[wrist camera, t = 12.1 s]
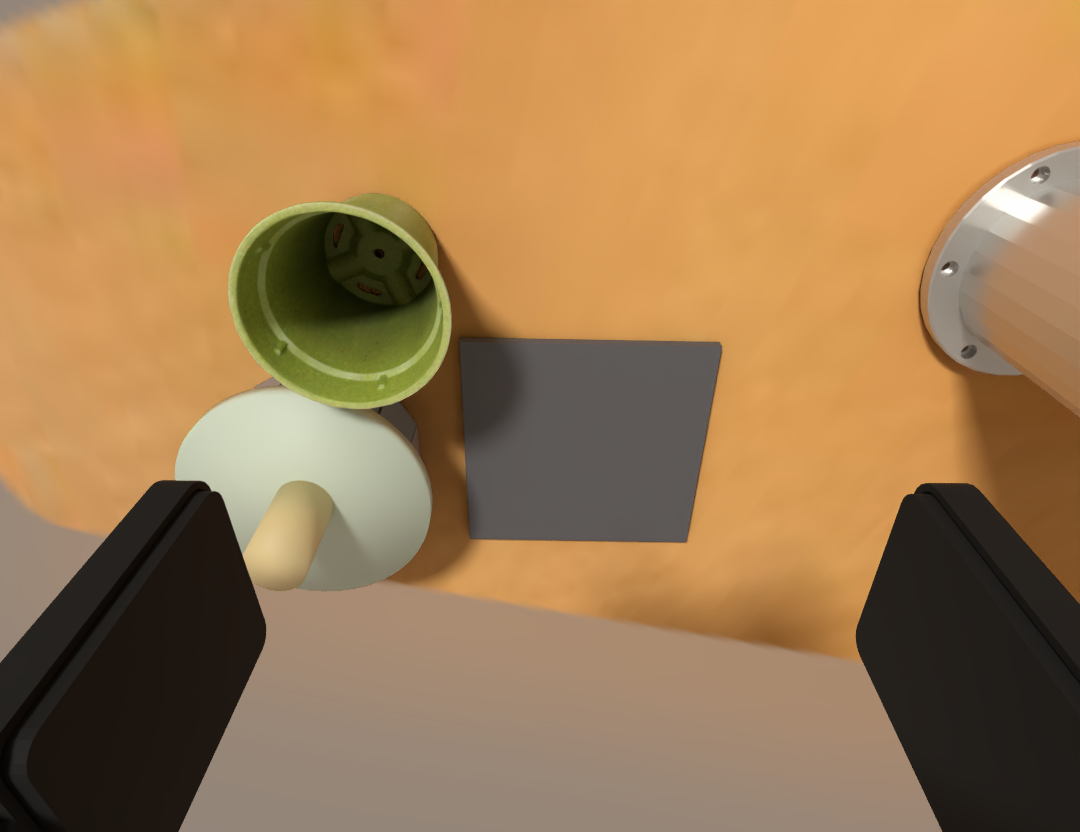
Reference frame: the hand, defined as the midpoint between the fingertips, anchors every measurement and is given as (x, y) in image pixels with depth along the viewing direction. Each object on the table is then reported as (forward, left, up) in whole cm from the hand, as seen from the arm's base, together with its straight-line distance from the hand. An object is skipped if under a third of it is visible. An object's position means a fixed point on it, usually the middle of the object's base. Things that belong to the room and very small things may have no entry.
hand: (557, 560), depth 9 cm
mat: (-3, +17, -28) cm, 33 cm away
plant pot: (+9, +5, -28) cm, 30 cm away
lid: (+13, +17, -23) cm, 31 cm away
